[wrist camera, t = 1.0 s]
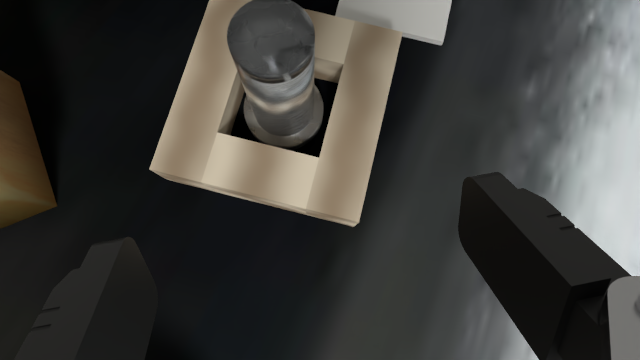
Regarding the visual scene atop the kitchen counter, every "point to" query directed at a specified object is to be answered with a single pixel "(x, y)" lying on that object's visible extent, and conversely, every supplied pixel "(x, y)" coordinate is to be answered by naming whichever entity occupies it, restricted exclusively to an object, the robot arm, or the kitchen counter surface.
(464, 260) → the kitchen counter surface
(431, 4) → the grey rubber pad
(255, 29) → the steel plug
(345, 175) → the frame
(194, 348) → the kitchen counter surface
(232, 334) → the kitchen counter surface
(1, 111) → the bread
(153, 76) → the kitchen counter surface
